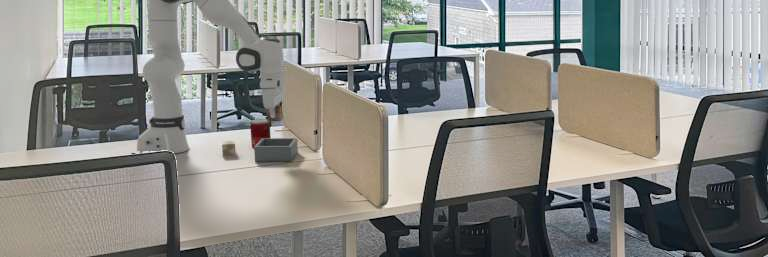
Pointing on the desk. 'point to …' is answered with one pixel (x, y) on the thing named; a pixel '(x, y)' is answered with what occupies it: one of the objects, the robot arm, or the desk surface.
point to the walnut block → (278, 113)
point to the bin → (276, 150)
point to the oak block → (228, 148)
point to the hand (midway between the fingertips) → (274, 116)
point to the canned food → (259, 130)
